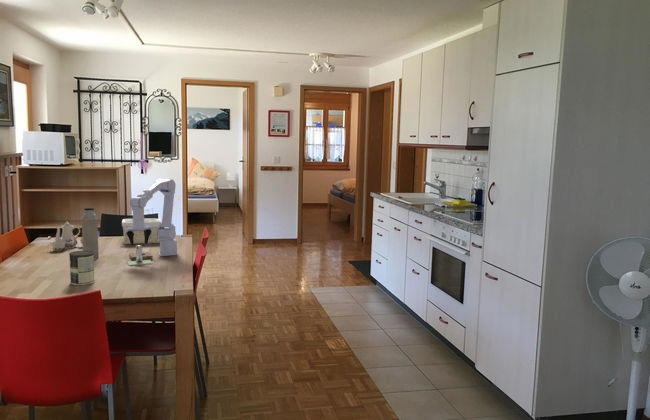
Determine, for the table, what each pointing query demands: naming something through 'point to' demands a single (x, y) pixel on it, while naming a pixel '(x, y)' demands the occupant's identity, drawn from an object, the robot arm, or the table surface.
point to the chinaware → (65, 238)
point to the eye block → (144, 256)
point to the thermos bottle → (90, 231)
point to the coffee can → (82, 267)
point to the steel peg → (139, 254)
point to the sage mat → (133, 263)
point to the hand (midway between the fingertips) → (139, 244)
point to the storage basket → (140, 234)
